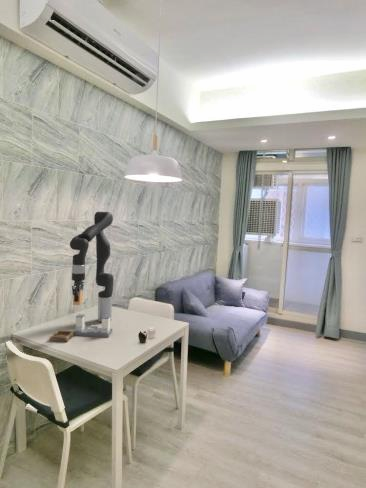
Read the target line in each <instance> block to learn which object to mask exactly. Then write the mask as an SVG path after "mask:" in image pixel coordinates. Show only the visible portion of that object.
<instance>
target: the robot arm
mask: <svg viewBox="0 0 366 488" xmlns="http://www.w3.org/2000/svg"><path fill="white" fill-rule="evenodd" d="M93 219H94V221H93V222H94V224H92V225H90V226H88V227H87V228H86V229H84V231H83V232H81V233H79V234H78V235H76V236H74V237H73V238H72V239H71V240H70V242H69V247H70V248H71V249H72V250H74V251H79V252H78V253H76V254H73V255H72V265H71V280H72V281H73V285H71V291H72V296H73V295H74V301H75V302H78V297H79V291H80V289H83V290H84V284H85V282H84V281H85V279H86V256H87V252H88V249H89V245H90V244H89V243H90V242H92V240H93V239H95V241H96V243H95V244H96V245H95V246H96V247H95V252H96V253H95V254H96V269H95V270H96V272H95V283H96V285H97V286H99V287H102V288H103V287H104V290H100V291H99V292H98V293H97V322H99V323H102V317H103V316H110V322H111V321H112V310H113V308H112V305H113V304H112V303H113V291H114V281H115V280H114V276H113V274H112V273H106V272H105V265H106V263H107V262H108V259H109V258H110V256H111V244H110V242H109V240H108V238H107V237H106V235H105V233H104V230H105V229H106V228H108V227H109V226H111V225H112V224H113V222H114V221H113V220H114V217H113V214H112V213H111V212H109V211H97V212H95V214H94V218H93ZM77 289H78V290H77Z"/></svg>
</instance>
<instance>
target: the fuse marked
mask: <svg viewBox="0 0 366 488" xmlns="http://www.w3.org/2000/svg"><path fill="white" fill-rule="evenodd" d="M77 290H78V289H77ZM83 291H84V288H83V289H80V291H79V297H78V302H75V301H74V295H73V294H72V296H73V297H72V305H73V306H81V305H82V304H83Z"/></svg>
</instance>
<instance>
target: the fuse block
mask: <svg viewBox="0 0 366 488" xmlns="http://www.w3.org/2000/svg"><path fill="white" fill-rule="evenodd" d="M85 315H86V314H80V313H79V314H77V315H76V316H75V327H74V330H73V331H74V336H79V337H80V336H84V337H98V338H109V337H110V336H111V335H112V334H113V328H111V321H110V316H103V317H102V322H101V327H99V325H96V324H95V325H94V324H91V325H90V327H89V326H87V327H86V325H87V324H86V323H85V322H86V320H85V319H86V316H85Z"/></svg>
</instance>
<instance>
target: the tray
mask: <svg viewBox="0 0 366 488" xmlns="http://www.w3.org/2000/svg"><path fill="white" fill-rule="evenodd" d="M73 337H75V335H74V330H73V331H68V330H57V331H55V332H54V333H53V334H52V335H51V336H49V341H50V342H62V343H68V342H69V341H70V340H71V339H72V338H73Z"/></svg>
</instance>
